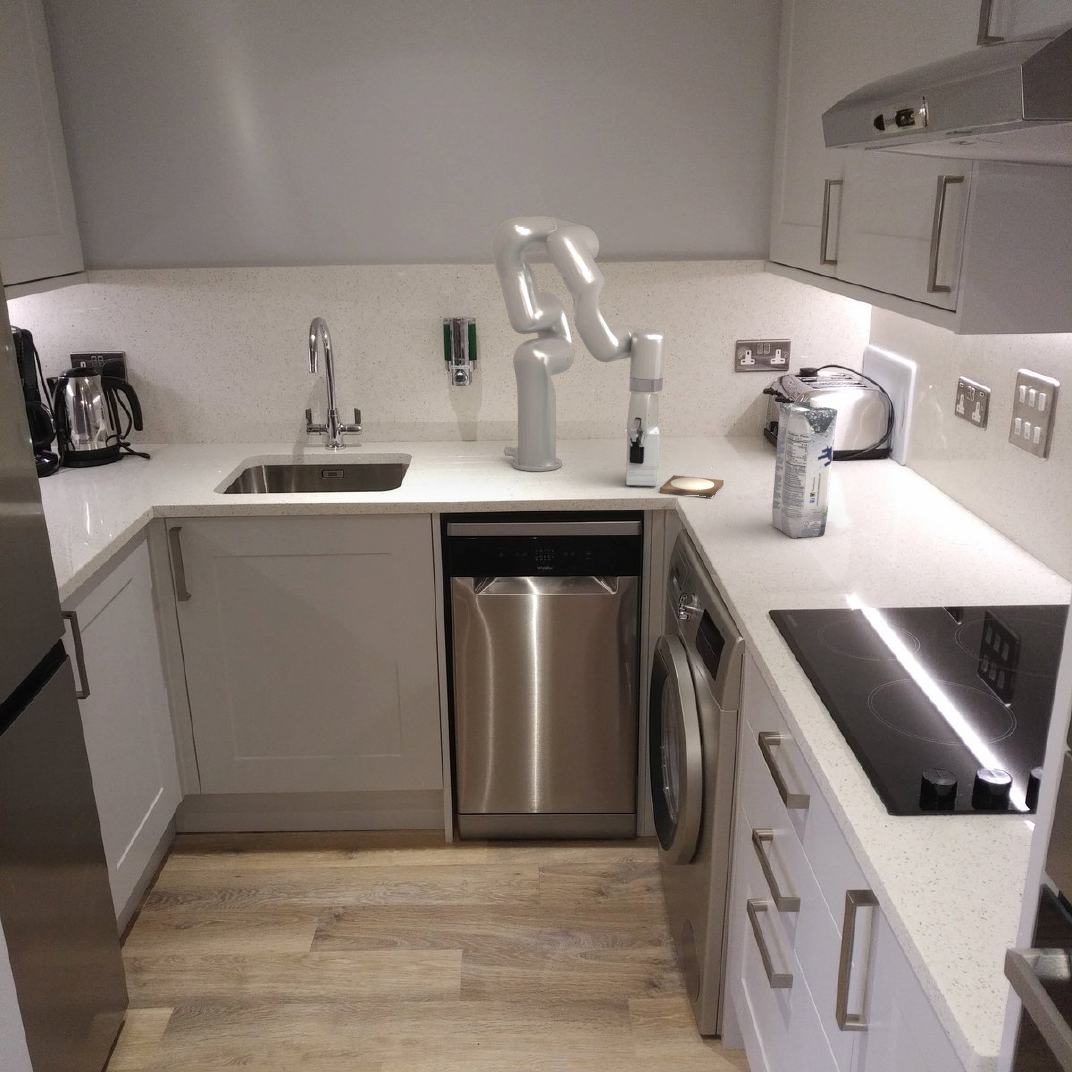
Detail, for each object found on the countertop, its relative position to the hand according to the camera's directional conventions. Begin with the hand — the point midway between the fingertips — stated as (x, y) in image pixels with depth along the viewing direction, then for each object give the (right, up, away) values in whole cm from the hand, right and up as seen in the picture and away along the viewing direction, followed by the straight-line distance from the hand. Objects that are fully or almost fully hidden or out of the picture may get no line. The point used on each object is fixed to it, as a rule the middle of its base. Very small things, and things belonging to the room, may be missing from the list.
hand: (642, 458), depth 237 cm
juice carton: (+28, -17, -32) cm, 46 cm away
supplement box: (0, -6, +2) cm, 6 cm away
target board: (+11, -7, -2) cm, 14 cm away
